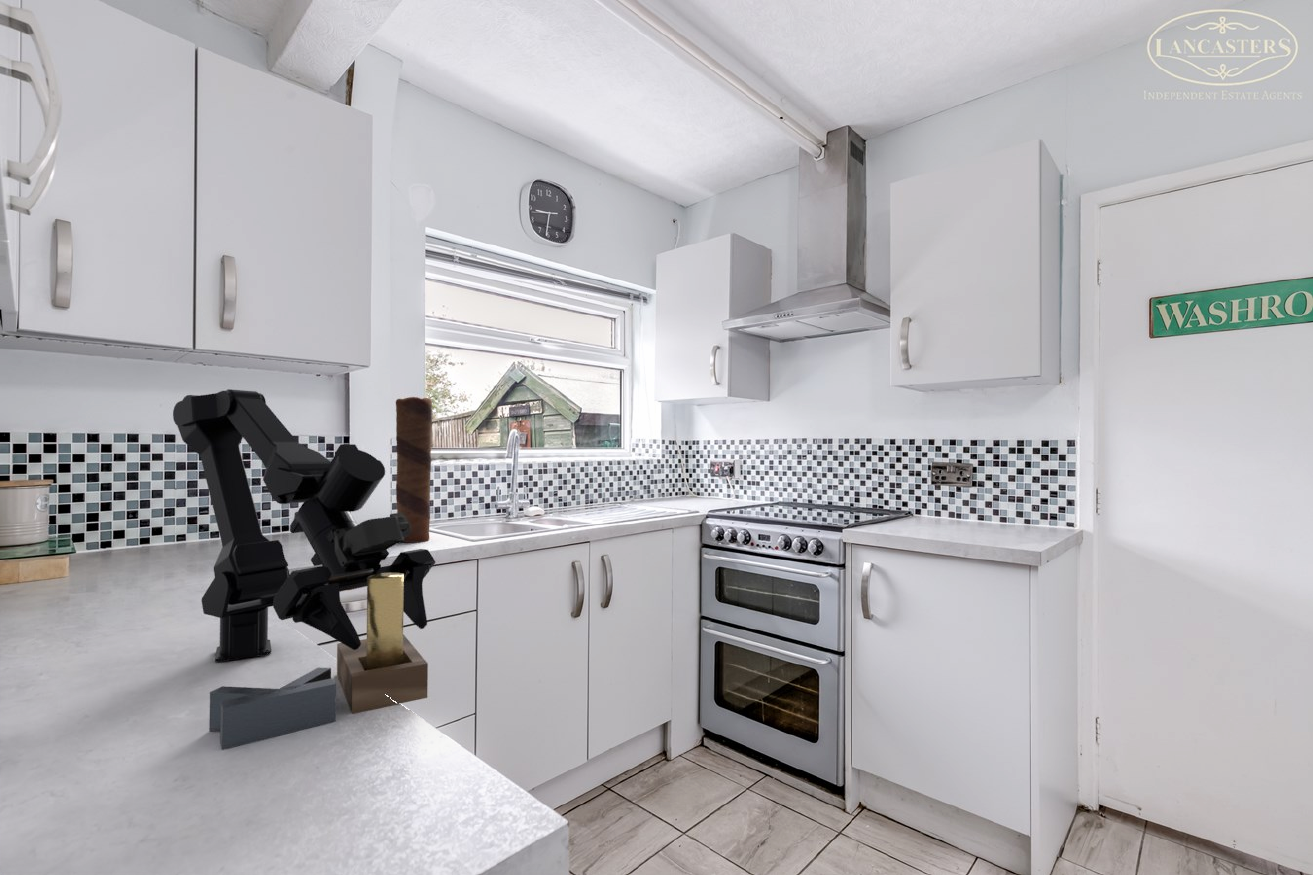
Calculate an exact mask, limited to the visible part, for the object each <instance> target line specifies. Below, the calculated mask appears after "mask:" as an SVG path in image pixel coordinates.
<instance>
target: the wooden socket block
mask: <svg viewBox="0 0 1313 875" xmlns="http://www.w3.org/2000/svg"><path fill="white" fill-rule="evenodd" d="M360 642H361V645H360V647H359V648H358V649H356V650H353V649H351V648H349V647H348V646H346V645H344V644H343V643H341V642H338V643H337V645H336V646H337V647H336V657H337V658H336V677H337V678H338V681H339V683H340V686H341V689H342V692H343V694H344V696H345V699H346V702H347V705H348V707H349V709H350V711H351V712H350V713H351V714H357V713H362V712H366V711H371V710H376V709H380V708H384V707H385V708H386V707H390V706H394V705H399V704H404V703H408V702H413V701H415V702H416V701H417V700H423V699H427V698H428V684H429V683H428V679H429V678H428V674H429V673H428V671H429V670H428V668H429V667H428V662H427V661H426V660H425V658H424V657H423V656H422V655H421V653H419V651H418V650H417V648H415V646H414V645H413V644H412V643H411V641H410V640H409V639H408V638H407V637H406V635H405V634H404V633H403V664H400V665H394V666H389V667H383V668H377V669H372V670H366V648H367V638H364V639H360ZM385 694H386V695H388V696H389V697H387V696H386V695H385ZM390 697H391V699H392V700H394V701H396V702H397V703H398V704H396V703H395V702H393V701H392V700H391V699H390Z"/></svg>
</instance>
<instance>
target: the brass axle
mask: <svg viewBox="0 0 1313 875" xmlns="http://www.w3.org/2000/svg"><path fill="white" fill-rule="evenodd" d="M366 590H367V591H366V639H367V648H366V670H372V669H377V668H383V667H389V666H394V665H400V664H403V634H404V611H403V601H404V574H402V573H380V574H374V575H370V576H368V577H367V586H366Z"/></svg>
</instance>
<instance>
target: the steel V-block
mask: <svg viewBox="0 0 1313 875" xmlns="http://www.w3.org/2000/svg"><path fill="white" fill-rule="evenodd" d="M336 711H337V682H335V680H334V679H333V678H332V668H331V667H316V668H315V669H312V670H311V671H309V672H307V673H306V674H304V675H301V676H300V677H298V678H297V679H294V680H292V681H290V682H289V683H287V684H284V686H282V687H280V688H268V687H267V688H266V687H263V688H262V687H245V686H243V687H242V686H225V685H224V686H220V687H218V688H215V689H214V690H212V691H210V692H209V722H208V723H209V728H208V730H209V732H214V733H216V732H217V733H220V734H219V738H220V740H219V742H220V747H221V750H225V749H226V750H227V749H230V748H234V747H238V746H242V745H247V744H251V743H254V742H257V741H261V740H266V739H270V738H275V737H277V736H278V737H279V736H282V735H287V734H291V733H294V732H299V731H302V730H307V729H311V728H315V727H319V726H323V725H326V724H330V723H335V722H337V721H336V720H337V716H336V715H337V712H336Z"/></svg>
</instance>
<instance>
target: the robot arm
mask: <svg viewBox="0 0 1313 875" xmlns="http://www.w3.org/2000/svg"><path fill="white" fill-rule="evenodd" d="M172 418H173V421H174V424H175V425H176V426H177V429H178V431H179V434H180V437H181V439H182V441H183V443H185V444H186V445H187V446H188V447H189V448H191V450H193V452H195V453H196V454H197V455H198V456H199V457H200V460H201V463H202V464H201V465H202V469H203V472H204V477H205V480H206V481H205V482H206V484H207V490H208V492H209V497H210V499H211V500H210V501H211V504H212V509H213V513H214V517H215V520H216V524H217V528H218V533H219V536H220V540H221V546H222V548H221V550H220V552H219V554H218V556H217V559H216V561H215V563H214V566H213V573H214V574H213V575H214V578H213V580H212V581H211V583H210V585H209V586H208V588H207V589H206V590H205V592H204V594H203V595H202V597H201V605H202V606H201V608H202V612H203V614H204V615H208V616H211V617H215V618H219V646H216V650H215V655H214V656H215V658H214V662H215V663H220V662H226V661H232V660H233V661H234V660H241V659H246V658H253V657H261V656H267V655H270V654H272V645H271V644H272V643H271V639H269V637H268V633H269V630H268V629H269V626H268V625H269V622H268V621H269V607H273V610H274V612H275V613H276V615H277V617H278V619H279V620H281V621H284V620H289V619H292V621H293V622H294V623H295V624H297V623H303V624H306V625H307V626H309V627H312V628H314V629H316V630H318V631H319V632H322V633H324V634H325V635H328V636H330V637H331V638H333V639H334V640H336V641H338V643H343V644H344V645H346V646H348V647H349V648H351V649H353V650H356V649H358V648H359V647H360V645H361V642H360V640H361V639H360V637H359V634H358V632H357V630H356V628H355V627H354V624H353V622H352V621H351V619H350V618H349V615H348V613H347V611H346V609H345V608H344V606H343V604H342V602H341V596H340V592H346V591H352V590H357V589H361V588H365V587H366V588H367V577H368V576H370V575H374V574H380V573H402V574H404V601H403V614H405V615H406V616H407V617H408V618H409V619H410V621H411V622H412V623H413V624H415V625H414V626H416V627H417V628H419V629H420V630H423V629H425V627H427V625H428V620H427V612H426V606H425V605H426V604H425V598H424V590H423V582H424V578H426V576H427V575H428V573H429V572H430V570H431V569H432V568H433V566H434V565H435V564H436V560H435V559H434V557H433V556H432V554H431V553H430V551H429V549H424V548H420V549H414V550H413V549H412V550H407V551H402V552H399V554H398V555H397V556H396V558H395V559H394V560H393V561H392V563H391V565H386V566H382V564H381V562H382V561H385V560H387V558H388V557H389V555H390V552H389V551H388V549H390V548H391V547H394V546H395V545H398V544H401V543H404V542H403V541H404V538H405V537H407V536H409V535H410V534H411V527H410V523H409V521H408V520H407V518H406V517H405V516H404V515H403V513H397V512H395V513H390V514H389V516H385V517H380V518H370V519H367V520H363V521H362V522H359V524H358V523H357V521H356V520H355V518H354V517H353V515H352V512H356V511H359V510H361V509H362V508H363V507H364V505H365V504H366V503H367V501H368V500H369V499H370V497H371V495H372V494H373V493H374V491H375V490H376V488H377V487H378V485H379V484H380V482H381V481H382V479H384V477H385V475H386V468H385V465H384V463H383V462H382V461H381V460H380V459H377V458H376V457H375V456H373V455H372V454H370V453H368V452H365V451H364V450H360V449H359V448H358V446H357V444H351V443H350V444H346V443H344V444H343V443H342V444H340V445H339V446H338V447H337V449H336V451H335V453H334V455H333V458H332V459H331V461H330V460H329V459H328V458H327V457H326V456H324V455H323V454H322V453H320V452H319V451H318V450H317V451H316V450H315V449H311V448H308V447H306V446H303V445H302V444H301V443H300V442H298V441H297V439H296V438H295V436H293V434H292V433H291V432H290V431H289V430H288V429H287V428H286V426H285V425H284V424H283V422H281V421H280V419H279V418H278V417H277V416H276V414H275V413H274V411H272V409H271V408H270V407H269V406H268V405H267V401H266V398H265V396H264V394H262V393H260V392H257V391H256V390H245V389H243V390H242V389H241V390H240V389H229V388H228V389H226V390H221V391H218V392H216V393H215V392H214V393H209V394H202V395H201V394H199V395H197V394H196V395H195V394H187V395H186V396H184V397H183V399H182V400H180V401H178V402H176V403H175V406H174V407H173V411H172ZM243 439H244V440H245V442H246V443H247V444H248V446H249V447H250V448H251V450H252V451H253V452H254V453H255V454H256V456H257V457H258V458H259V460H260V461H261V462H262V464H263V466H264V468H265V471H264V474H263V478H262V481H263V482H264V485H265V487H266V488H267V491H268V492H269V494H270V496H271V497H272V499H273V500H274V501H275V502H276V503H277V504H279V505H287V504H288V505H289V504H301V503H302V504H301V506H300V507H299V509H298V510H297V511H295V512H294V517H293V519H292V521H291V524H290V528H289V531H290V533H291V534H299V533H304V536H305V537H306V538H307V540H308V542H309V544H310V546H311V548H312V550H313V552H314V555H313V556H312V557H311V559H310V561H311V563H312V564H313V566H314V567H307V568H302V569H296V570H291V572H290V570H289V568H288V567H289V564H288V562H287V560H286V557H285V554H284V546H283V545H282V543H281V542H280V540H279V539H275V540H269V539H268V538H267V537H266V536H265V535H264V534H263V533H262V528H261V525H260V521H259V517H258V513H257V509H256V505H255V502H254V498H253V494H252V491H251V487H250V484H249V480H248V476H247V472H246V468H245V465H244V460H243V456H242V452H241V450H240V449H241V448H240V444H241V443H242V440H243Z"/></svg>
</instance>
